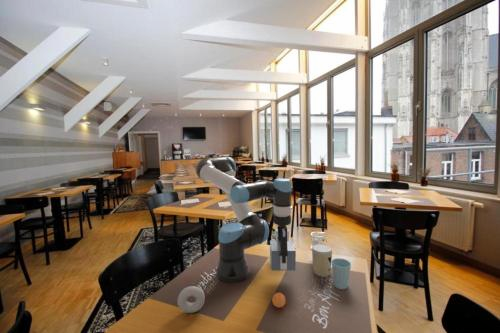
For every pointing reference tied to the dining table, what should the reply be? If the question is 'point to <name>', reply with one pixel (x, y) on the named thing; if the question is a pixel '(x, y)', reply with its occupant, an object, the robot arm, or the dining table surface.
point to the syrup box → (277, 235)
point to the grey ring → (188, 292)
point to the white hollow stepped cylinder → (317, 238)
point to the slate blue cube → (275, 258)
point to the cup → (341, 272)
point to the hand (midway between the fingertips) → (282, 262)
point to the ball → (278, 300)
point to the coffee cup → (321, 259)
